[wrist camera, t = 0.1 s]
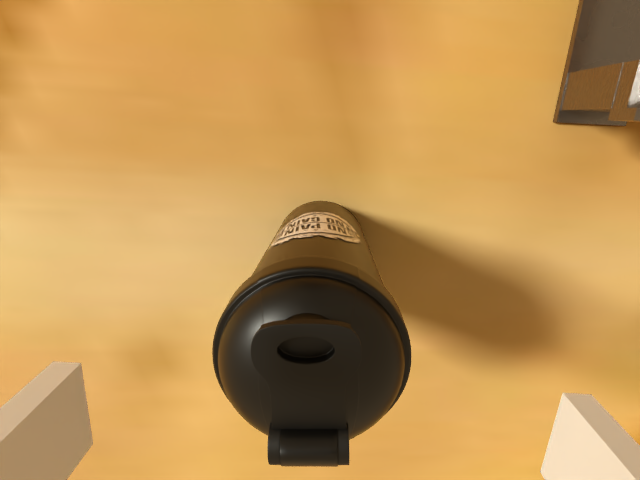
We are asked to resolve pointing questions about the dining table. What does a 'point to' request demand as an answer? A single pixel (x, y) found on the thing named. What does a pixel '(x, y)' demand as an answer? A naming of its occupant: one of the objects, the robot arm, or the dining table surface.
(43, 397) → the robot arm
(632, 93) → the rack
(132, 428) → the dining table surface
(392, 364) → the water bottle
